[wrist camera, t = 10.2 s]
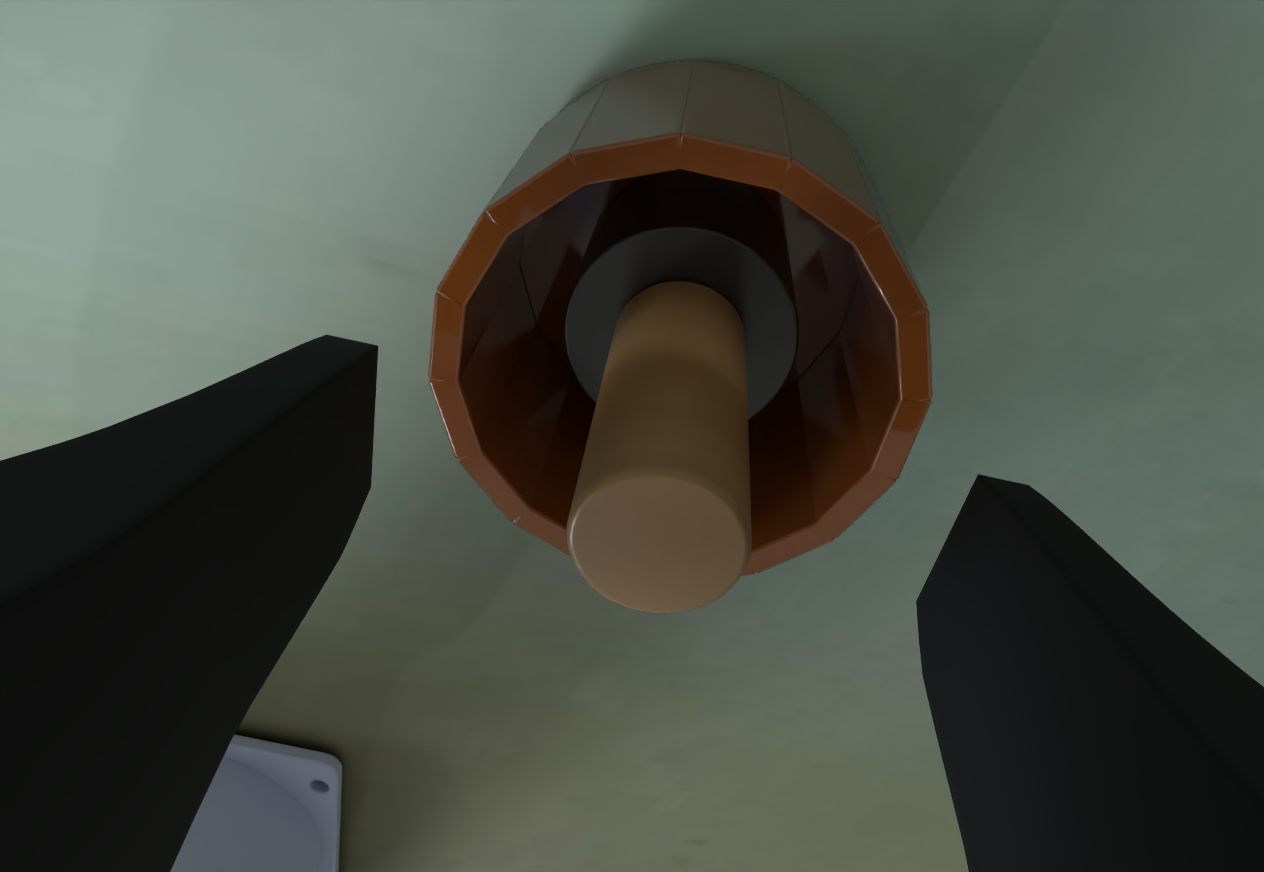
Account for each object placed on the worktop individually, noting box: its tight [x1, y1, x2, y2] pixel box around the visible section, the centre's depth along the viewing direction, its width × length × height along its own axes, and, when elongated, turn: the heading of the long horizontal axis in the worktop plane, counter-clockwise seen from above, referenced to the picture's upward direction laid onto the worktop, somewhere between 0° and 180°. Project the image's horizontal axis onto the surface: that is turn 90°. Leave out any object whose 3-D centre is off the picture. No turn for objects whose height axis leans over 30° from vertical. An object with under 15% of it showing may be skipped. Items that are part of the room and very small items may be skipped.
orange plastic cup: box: [428, 61, 932, 576], centre depth 15 cm, size 7×7×5 cm
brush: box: [563, 169, 799, 613], centre depth 13 cm, size 4×4×8 cm
